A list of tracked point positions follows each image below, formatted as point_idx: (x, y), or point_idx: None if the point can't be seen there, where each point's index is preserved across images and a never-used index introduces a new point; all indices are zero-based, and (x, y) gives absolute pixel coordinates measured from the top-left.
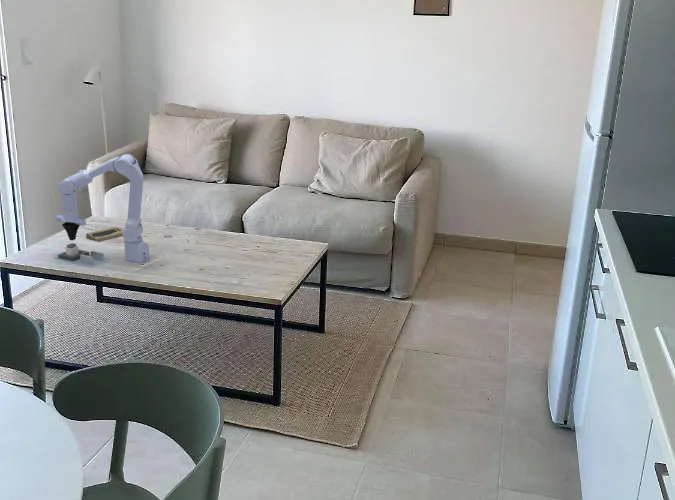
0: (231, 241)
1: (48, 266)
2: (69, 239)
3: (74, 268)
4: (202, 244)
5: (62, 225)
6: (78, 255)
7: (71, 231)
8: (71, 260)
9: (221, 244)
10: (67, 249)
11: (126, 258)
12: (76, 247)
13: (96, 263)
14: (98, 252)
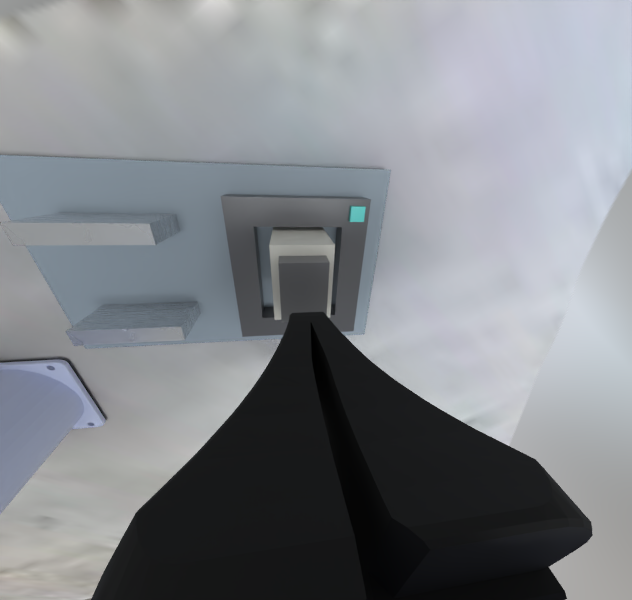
0: (47, 581)
1: (334, 29)
2: (324, 313)
3: (132, 111)
4: (74, 550)
5: (542, 474)
6: (236, 260)
7: (247, 397)
8: (240, 194)
9: (36, 568)
10: (309, 241)
11: (8, 382)
12: (274, 302)
13: (65, 249)
14: (110, 336)
